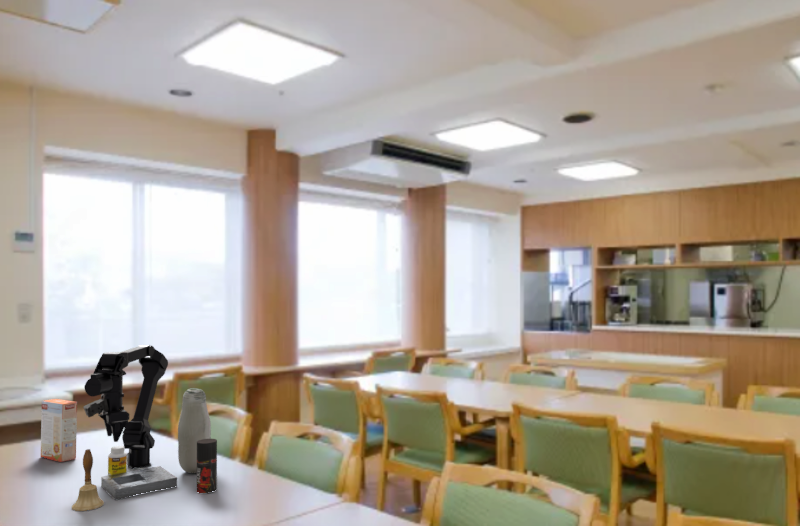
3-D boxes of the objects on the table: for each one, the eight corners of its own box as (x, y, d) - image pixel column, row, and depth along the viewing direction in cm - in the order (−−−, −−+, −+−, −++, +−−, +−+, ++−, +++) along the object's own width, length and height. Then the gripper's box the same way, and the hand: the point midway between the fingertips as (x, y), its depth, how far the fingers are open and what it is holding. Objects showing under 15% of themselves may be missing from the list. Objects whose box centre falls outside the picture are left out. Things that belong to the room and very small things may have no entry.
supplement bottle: (109, 482, 196) (109, 450, 197) (106, 478, 201) (107, 446, 201) (128, 479, 199) (128, 447, 200) (125, 475, 204) (125, 444, 205)
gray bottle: (216, 469, 210) (216, 387, 211) (194, 478, 200) (195, 391, 202) (193, 466, 214) (194, 385, 215) (171, 474, 205) (172, 389, 206)
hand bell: (70, 513, 170) (71, 455, 171) (72, 503, 178) (73, 447, 178) (103, 508, 173) (104, 451, 174) (104, 499, 181) (105, 444, 182)
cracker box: (77, 459, 224) (78, 401, 225) (60, 463, 219) (61, 404, 219) (56, 453, 231) (57, 397, 232) (39, 457, 226) (40, 400, 227)
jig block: (159, 475, 204) (160, 465, 204) (176, 487, 192) (176, 477, 192) (101, 486, 193) (101, 476, 193) (115, 500, 180) (115, 489, 180)
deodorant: (220, 488, 190) (220, 439, 191) (208, 494, 185) (209, 444, 185) (204, 486, 192) (204, 438, 193) (192, 492, 187) (192, 442, 187)
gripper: (80, 389, 204) (80, 437, 203) (91, 398, 189) (91, 449, 188) (116, 386, 210) (116, 431, 210) (130, 393, 195) (129, 443, 195)
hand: (112, 438), depth 201 cm, fingers open, 9 cm apart
